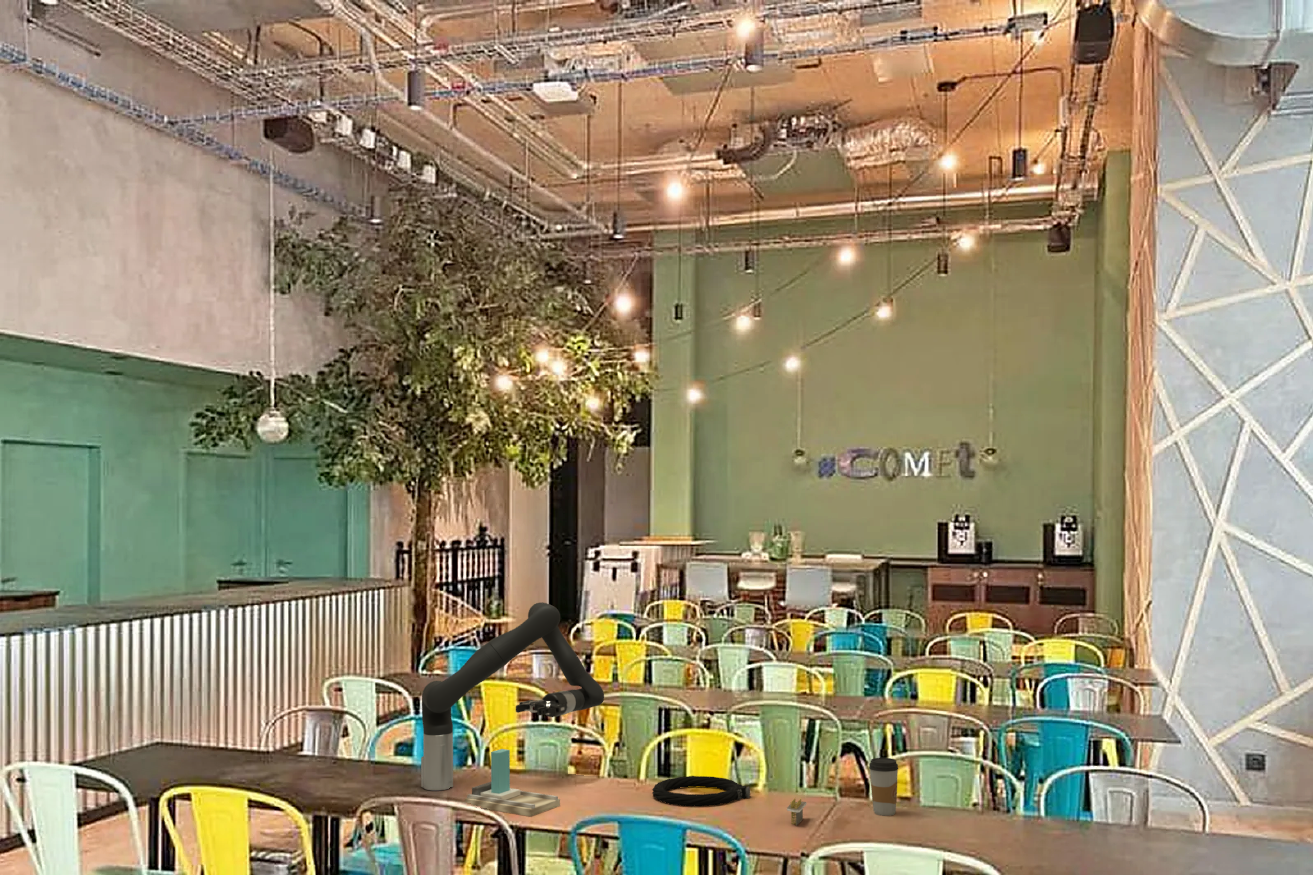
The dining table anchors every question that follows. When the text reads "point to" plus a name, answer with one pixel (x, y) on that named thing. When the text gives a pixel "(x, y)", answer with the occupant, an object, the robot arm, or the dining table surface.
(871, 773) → the coffee cup
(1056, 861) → the dining table surface
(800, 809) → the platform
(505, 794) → the post
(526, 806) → the rail board
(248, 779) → the dining table surface
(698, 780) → the cable lock
